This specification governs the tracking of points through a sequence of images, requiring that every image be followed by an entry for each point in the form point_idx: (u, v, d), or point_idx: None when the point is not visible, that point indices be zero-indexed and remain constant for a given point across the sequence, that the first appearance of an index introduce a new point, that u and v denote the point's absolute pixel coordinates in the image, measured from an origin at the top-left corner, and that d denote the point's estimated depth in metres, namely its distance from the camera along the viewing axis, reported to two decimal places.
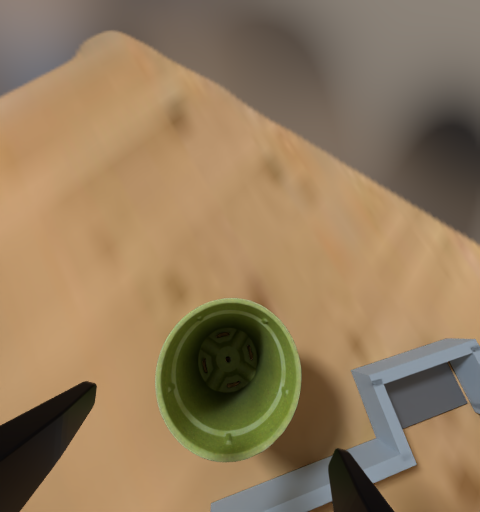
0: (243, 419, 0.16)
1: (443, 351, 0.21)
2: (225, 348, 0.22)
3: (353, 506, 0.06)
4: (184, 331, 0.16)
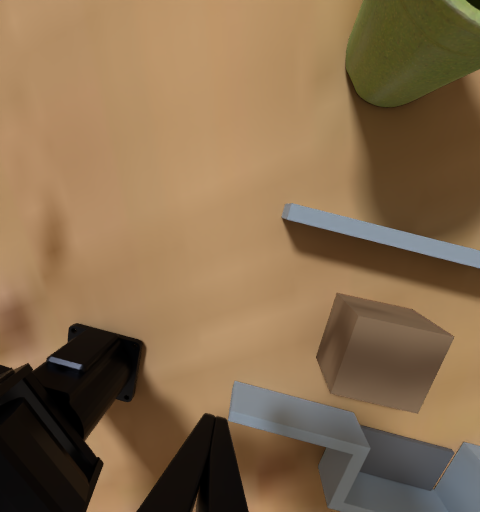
0: None
1: None
2: None
3: (206, 466, 0.06)
4: None
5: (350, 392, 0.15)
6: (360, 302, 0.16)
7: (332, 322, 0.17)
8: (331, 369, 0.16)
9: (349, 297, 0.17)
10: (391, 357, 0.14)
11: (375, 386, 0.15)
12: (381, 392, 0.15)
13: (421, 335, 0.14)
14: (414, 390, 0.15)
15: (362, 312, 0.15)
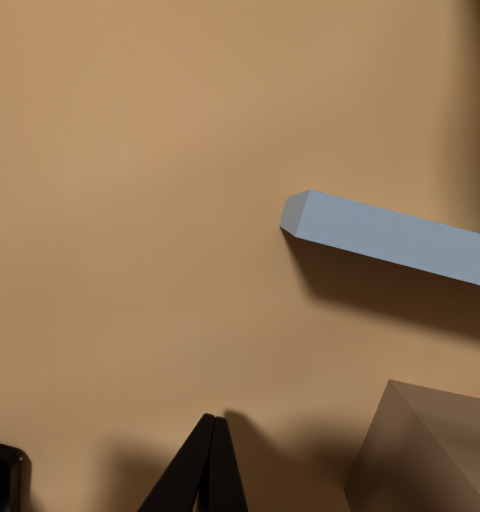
0: None
1: None
2: None
3: (206, 466, 0.06)
4: None
5: None
6: (448, 413, 0.08)
7: (384, 445, 0.08)
8: None
9: (418, 394, 0.08)
10: None
11: None
12: None
13: None
14: None
15: None
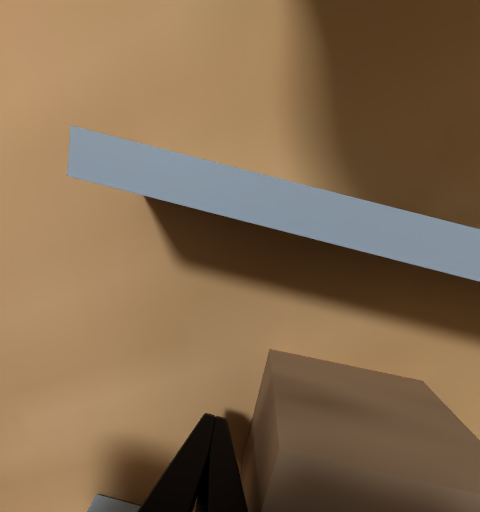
0: None
1: None
2: None
3: (205, 466, 0.06)
4: None
5: None
6: (309, 375, 0.08)
7: (258, 410, 0.08)
8: None
9: (291, 359, 0.08)
10: None
11: None
12: None
13: (451, 502, 0.05)
14: None
15: (298, 424, 0.06)
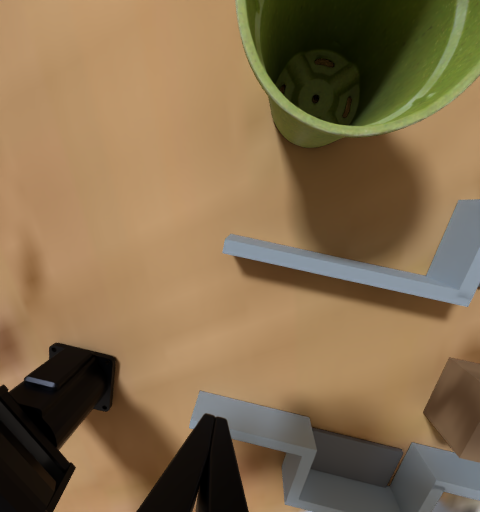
0: None
1: None
2: (319, 82, 0.15)
3: (206, 466, 0.06)
4: None
5: (478, 457, 0.17)
6: (477, 370, 0.18)
7: (447, 385, 0.19)
8: (454, 433, 0.17)
9: (464, 363, 0.18)
10: None
11: None
12: None
13: None
14: None
15: None
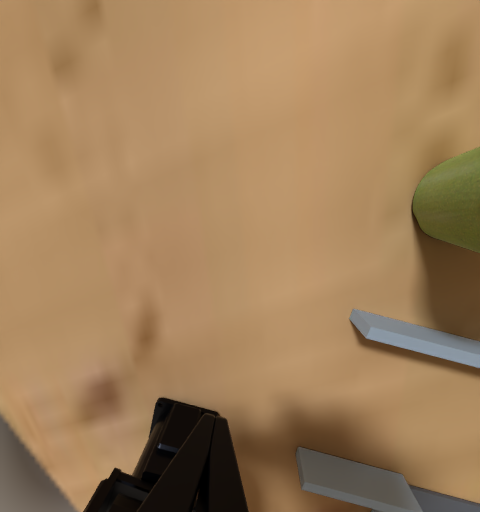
0: None
1: None
2: None
3: (206, 466, 0.06)
4: None
5: None
6: None
7: None
8: None
9: None
10: None
11: None
12: None
13: None
14: None
15: None
